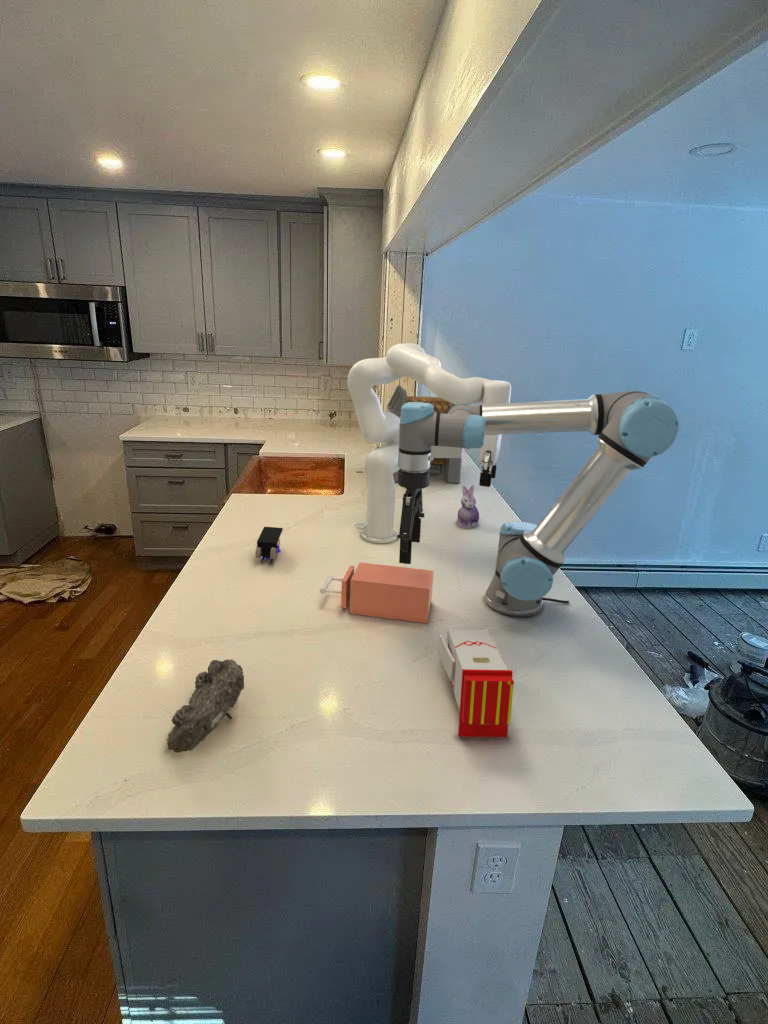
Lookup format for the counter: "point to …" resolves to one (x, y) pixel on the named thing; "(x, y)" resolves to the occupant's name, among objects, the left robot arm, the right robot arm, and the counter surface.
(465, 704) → the toy
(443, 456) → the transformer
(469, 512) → the figurine
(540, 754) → the counter surface
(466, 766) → the counter surface
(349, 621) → the counter surface
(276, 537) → the figurine character
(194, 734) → the fossil
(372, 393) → the left robot arm
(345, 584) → the drawer
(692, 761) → the counter surface
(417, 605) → the cabinet
